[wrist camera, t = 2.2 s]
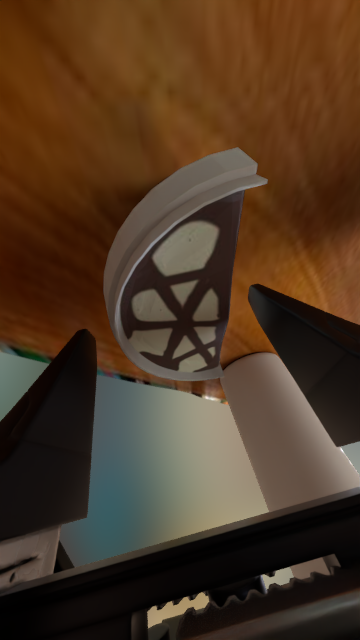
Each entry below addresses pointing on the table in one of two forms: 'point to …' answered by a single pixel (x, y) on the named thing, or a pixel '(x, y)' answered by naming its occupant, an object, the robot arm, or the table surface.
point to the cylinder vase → (284, 439)
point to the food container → (179, 268)
